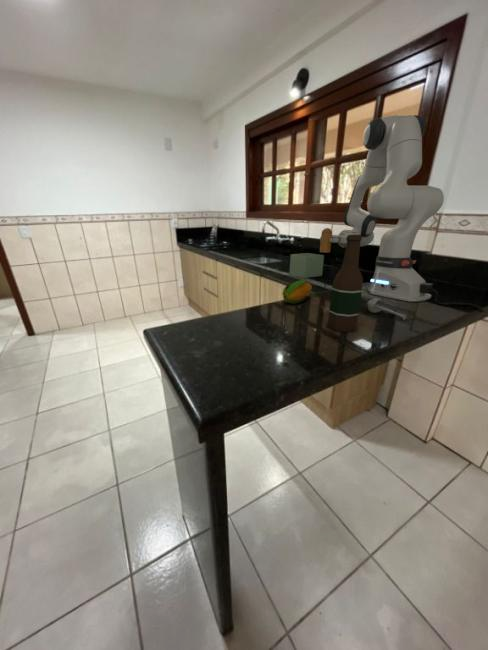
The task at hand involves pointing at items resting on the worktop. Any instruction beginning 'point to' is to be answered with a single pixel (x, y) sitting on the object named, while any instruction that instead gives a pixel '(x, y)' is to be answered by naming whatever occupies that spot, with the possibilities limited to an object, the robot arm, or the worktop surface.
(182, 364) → the worktop surface
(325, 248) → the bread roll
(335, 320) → the beer bottle
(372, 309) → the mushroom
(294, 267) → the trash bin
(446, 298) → the worktop surface
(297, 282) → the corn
